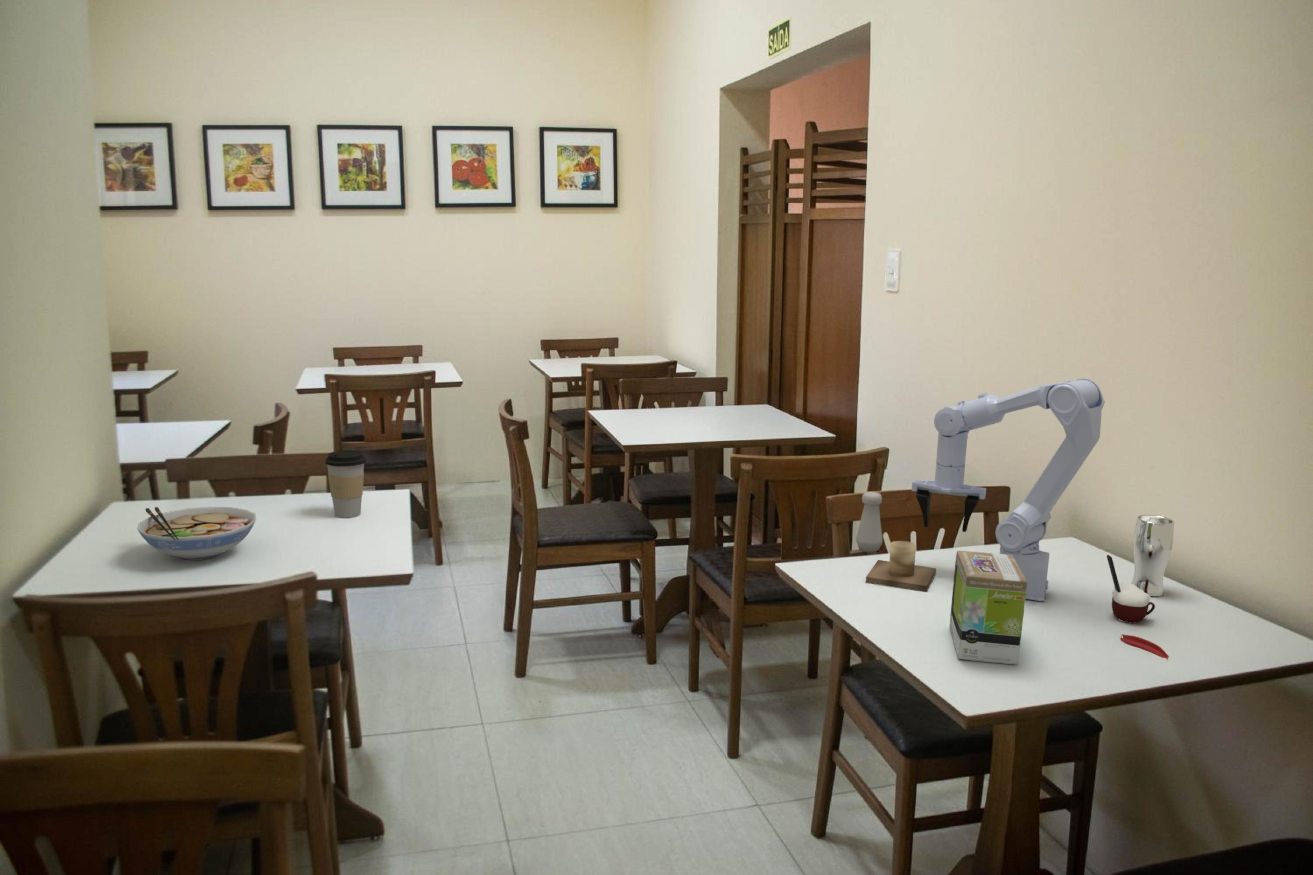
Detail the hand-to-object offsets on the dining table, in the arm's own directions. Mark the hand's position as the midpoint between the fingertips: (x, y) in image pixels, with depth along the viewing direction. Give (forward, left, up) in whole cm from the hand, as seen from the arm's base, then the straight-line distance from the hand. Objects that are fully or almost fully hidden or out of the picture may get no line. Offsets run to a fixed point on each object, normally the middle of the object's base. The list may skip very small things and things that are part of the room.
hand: (945, 528), depth 212 cm
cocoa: (-35, +12, -10) cm, 38 cm away
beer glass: (-39, -6, -10) cm, 41 cm away
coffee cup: (+136, +22, -10) cm, 138 cm away
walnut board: (+7, +8, -9) cm, 14 cm away
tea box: (-12, +37, -10) cm, 40 cm away
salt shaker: (+17, -8, -10) cm, 21 cm away
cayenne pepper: (-37, +25, -10) cm, 46 cm away
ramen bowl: (+143, +60, -10) cm, 155 cm away
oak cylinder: (+7, +8, -8) cm, 14 cm away
